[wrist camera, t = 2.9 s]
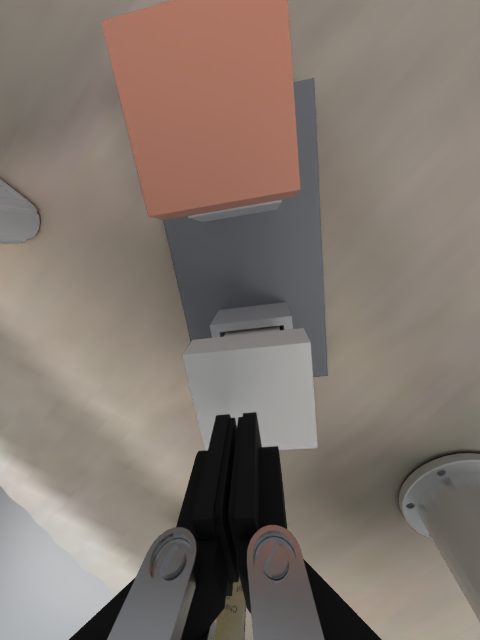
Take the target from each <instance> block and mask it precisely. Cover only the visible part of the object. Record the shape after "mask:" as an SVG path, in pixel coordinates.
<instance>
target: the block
mask: <svg viewBox="0 0 480 640" xmlns="http://www.w3.org/2000/svg"><path fill="white" fill-rule="evenodd" d="M293 85H294V100H295V115H296V130H297V145H298V160H299V175H300V191H299V192H298V193H297V195H296V196H295V197H294V198H289V199H283V200H277V201H272V202H266V203H260V204H254V205H249V206H243V207H237V208H231V209H226V210H220V211H214V212H208V213H203V214H197V215H191V216H185V217H180V218H174V219H168V220H164V219H163V220H164V225H165V229H166V233H167V238H168V242H169V247H170V251H171V256H172V260H173V265H174V269H175V273H176V278H177V282H178V287H179V291H180V296H181V300H182V304H183V309H184V313H185V318H186V322H187V327H188V331H189V336H190V340H191V341H192V340H197V339H206V338H215V337H224V335H225V332H232V331H241V330H250V329H259V328H268V327H277V326H279V328H280V330H289V329H298V328H304V329H305V332H306V334H307V336H308V338H309V340H310V342H311V356H312V371H313V377H319V376H328V370H327V348H326V327H325V305H324V283H323V261H322V240H321V218H320V196H319V174H318V152H317V131H316V109H315V87H314V78H312V79H308V80H303V81H299V82H295V83H293Z"/></svg>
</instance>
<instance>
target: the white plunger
mask: <svg viewBox="0 0 480 640" xmlns="http://www.w3.org/2000/svg"><path fill="white" fill-rule="evenodd" d="M182 357H183V361H184V366H185V370H186V374H187V378H188V382H189V386H190V390H191V395H192V399H193V403H194V407H195V411H196V415H197V419H198V424H199V428H200V432H201V436H202V440H203V444H204V448H205V451H207V450H208V448H209V443H210V439H211V435H212V430H213V426H214V422H215V418H216V415H226V414H230V416H231V418H235V420H236V425H237V424H238V417H243V413H252V412H256V413H257V419H258V425H259V432H260V438H261V445H262V447H273V446H278V449H279V450H290V449H311V448H318V446H317V431H316V416H315V401H314V386H313V371H312V356H311V342H310V340H309V338H308V336H307V334H306V332H305V329H304V328H298V329H289V330H280V328H279V326H277V327H268V328H259V329H250V330H241V331H232V332H225V335H224V337H215V338H206V339H197V340H192V341H191V343H190V344H189V346H188V347H187V349H186V350H185V352H184V353H183V355H182Z"/></svg>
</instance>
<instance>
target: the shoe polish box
mask: <svg viewBox="0 0 480 640" xmlns="http://www.w3.org/2000/svg"><path fill="white" fill-rule="evenodd" d="M245 618H246V602H245V598H244V594H243V590H242V585H241V581H240V577H239V581H238V582H233V590H232V596H226V601H225V608H224V609H223V611H222V612H221V613H220V614H219V616H218V617H217V624H216V631H215V635H214V640H245Z"/></svg>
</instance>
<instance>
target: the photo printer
mask: <svg viewBox="0 0 480 640" xmlns="http://www.w3.org/2000/svg"><path fill="white" fill-rule="evenodd" d="M39 226H40V218H39V215H38V214H37V209H36V208H35V207H34V206H33V205H32V204H31V203H30V202H29V201H28V200H27V199H26V198H24V197H23V196H22V195H21V194H19V193H18V192H17V191H15V190H14V189H13V188H12V187H10V186H9V185H7V184H6V183H5V182H4V181H2V180H1V179H0V244H19V243H24V242H25V241H26V240H27V239H31V238H33V237H34V236H35V235H36V234H37V232H38V230H39Z"/></svg>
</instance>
